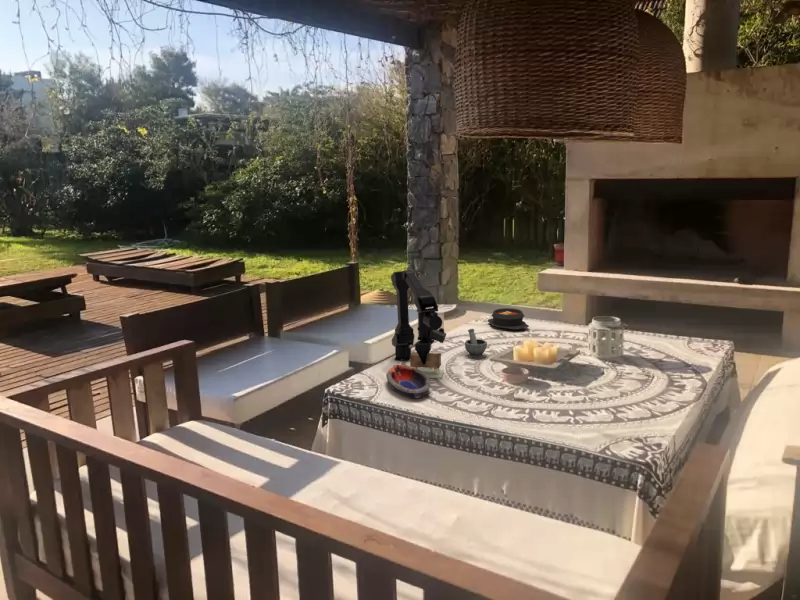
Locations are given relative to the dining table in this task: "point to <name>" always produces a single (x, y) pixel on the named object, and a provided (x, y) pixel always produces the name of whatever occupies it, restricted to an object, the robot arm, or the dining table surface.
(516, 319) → the casserole
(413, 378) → the dish
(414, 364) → the brown rectangular block
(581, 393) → the dining table surface
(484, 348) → the mortar and pestle
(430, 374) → the strip
